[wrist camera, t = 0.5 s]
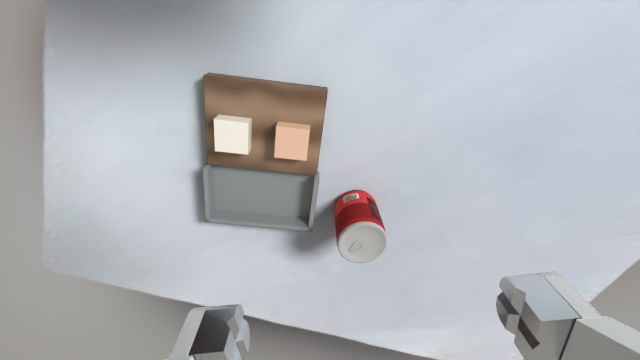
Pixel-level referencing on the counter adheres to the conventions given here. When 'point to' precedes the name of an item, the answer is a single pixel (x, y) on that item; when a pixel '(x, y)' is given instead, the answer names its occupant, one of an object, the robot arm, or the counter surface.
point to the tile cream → (232, 134)
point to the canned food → (359, 227)
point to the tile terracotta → (291, 141)
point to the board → (264, 119)
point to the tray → (259, 197)
